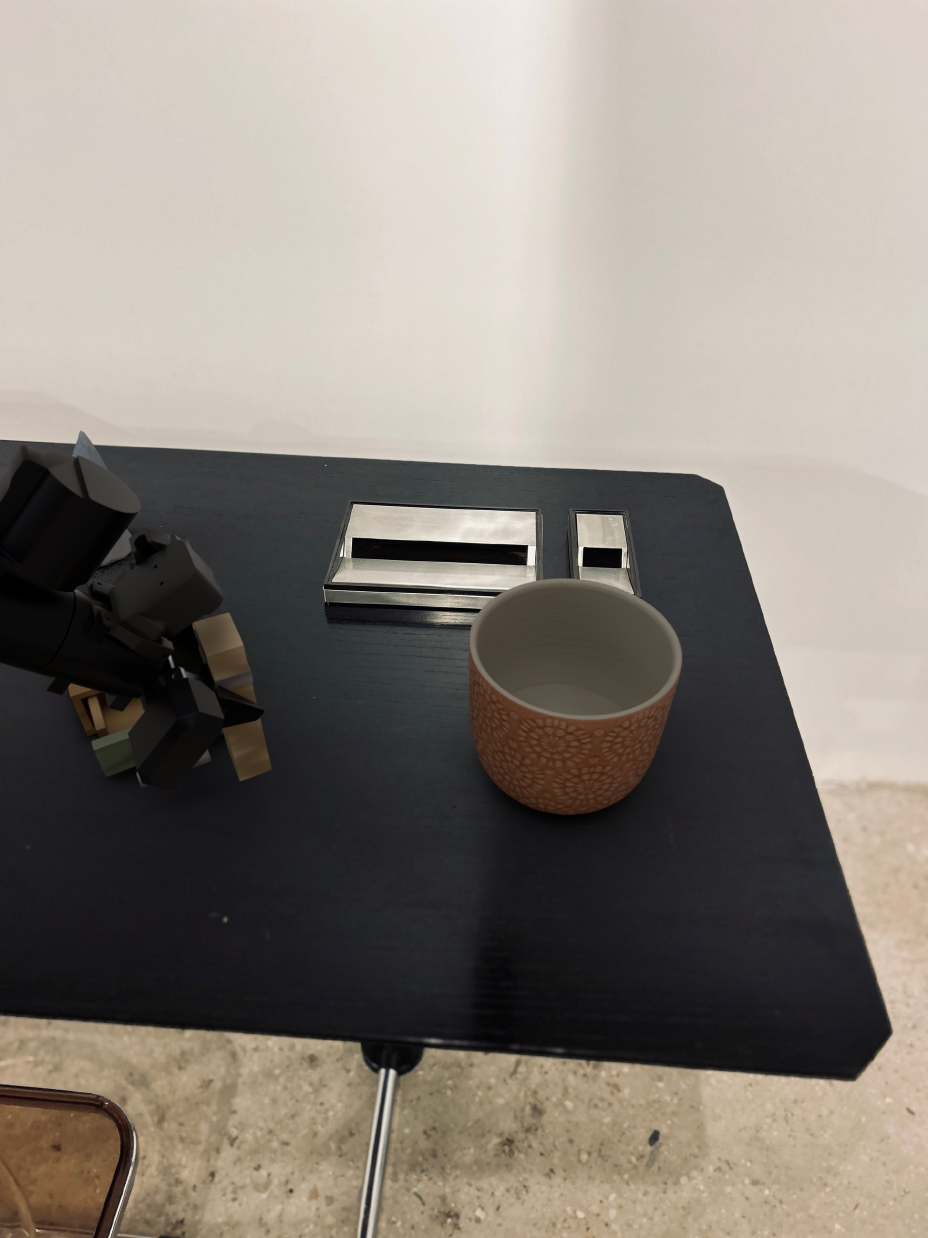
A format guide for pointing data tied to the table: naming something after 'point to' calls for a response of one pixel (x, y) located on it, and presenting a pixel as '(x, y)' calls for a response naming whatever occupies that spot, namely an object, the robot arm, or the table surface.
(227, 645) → the block
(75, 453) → the figurine
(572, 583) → the planter
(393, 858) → the table surface
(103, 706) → the drawer
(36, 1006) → the table surface
